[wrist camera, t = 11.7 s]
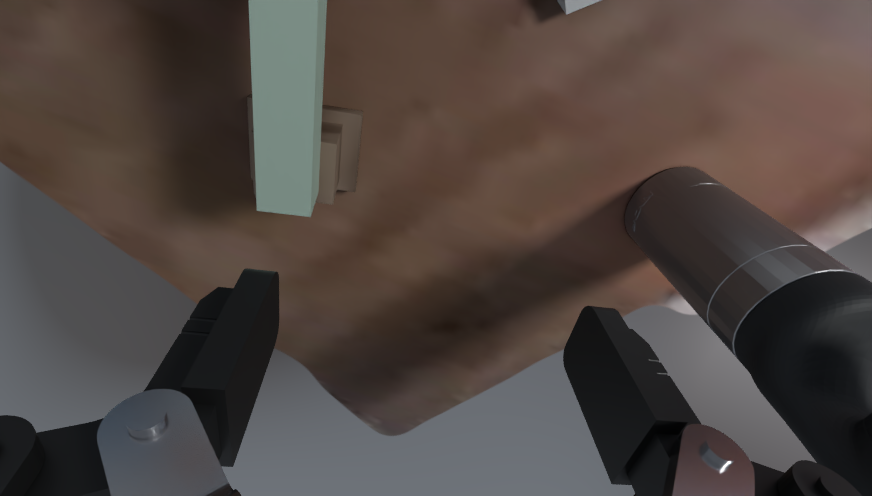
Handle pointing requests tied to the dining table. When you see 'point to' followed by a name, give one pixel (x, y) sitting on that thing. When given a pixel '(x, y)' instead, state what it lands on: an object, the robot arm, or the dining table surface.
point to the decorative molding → (574, 4)
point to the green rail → (287, 101)
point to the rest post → (328, 150)
